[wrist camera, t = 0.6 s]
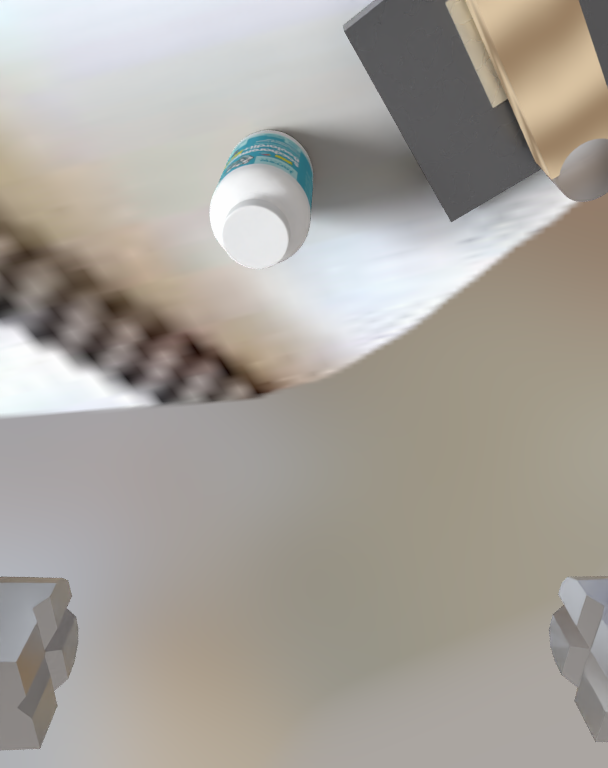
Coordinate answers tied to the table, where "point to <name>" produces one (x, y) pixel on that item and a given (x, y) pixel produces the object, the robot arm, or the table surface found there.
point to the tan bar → (551, 87)
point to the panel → (451, 94)
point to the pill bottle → (263, 200)
